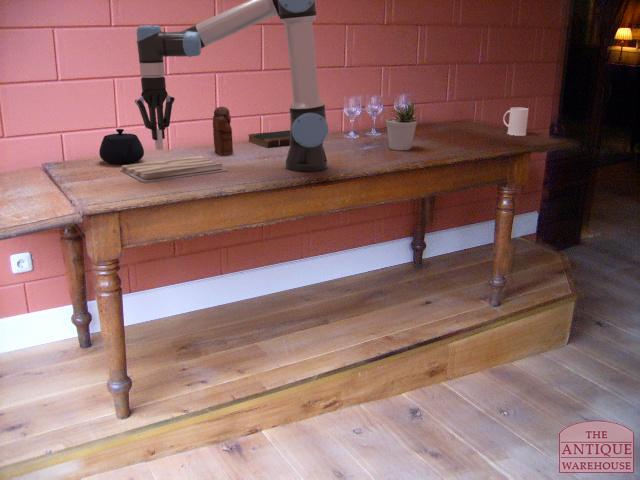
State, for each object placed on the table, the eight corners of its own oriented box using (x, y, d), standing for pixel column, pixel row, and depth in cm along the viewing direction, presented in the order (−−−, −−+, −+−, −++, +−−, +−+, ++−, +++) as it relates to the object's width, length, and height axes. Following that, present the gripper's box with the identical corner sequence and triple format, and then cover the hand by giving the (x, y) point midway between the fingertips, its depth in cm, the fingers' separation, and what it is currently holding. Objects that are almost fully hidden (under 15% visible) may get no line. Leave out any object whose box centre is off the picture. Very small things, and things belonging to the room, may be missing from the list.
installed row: (209, 163, 240) (209, 159, 239) (129, 173, 223) (129, 169, 222) (200, 159, 245) (200, 155, 244) (122, 169, 228) (121, 165, 227)
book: (296, 137, 296) (247, 142, 283) (296, 129, 295) (247, 134, 282) (318, 143, 282) (267, 149, 269) (318, 135, 281) (267, 140, 268)
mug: (497, 133, 311) (500, 107, 307) (508, 131, 316) (510, 105, 312) (519, 136, 302) (522, 110, 298) (529, 134, 308) (532, 108, 304)
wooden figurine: (236, 155, 255) (234, 108, 249) (220, 156, 253) (218, 109, 247) (227, 149, 265) (225, 104, 259) (211, 150, 263) (209, 105, 257)
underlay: (228, 170, 230) (228, 169, 230) (143, 183, 213) (143, 181, 212) (201, 160, 245) (201, 159, 245) (120, 171, 228) (120, 169, 228)
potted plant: (402, 153, 263) (405, 102, 256) (378, 148, 273) (380, 99, 266) (423, 149, 270) (427, 100, 264) (399, 144, 280) (402, 96, 274)
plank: (222, 168, 230) (222, 164, 230) (145, 179, 214) (145, 174, 214) (207, 163, 238) (207, 159, 238) (133, 173, 223) (132, 168, 222)
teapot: (92, 159, 246) (88, 126, 242) (132, 154, 254) (130, 122, 250) (112, 172, 226) (109, 136, 222) (156, 167, 234) (154, 132, 230)
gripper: (166, 74, 217) (173, 145, 224) (128, 76, 209) (136, 150, 217) (176, 75, 211) (182, 148, 219) (137, 78, 204) (145, 153, 211)
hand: (159, 149), depth 218 cm, fingers closed
